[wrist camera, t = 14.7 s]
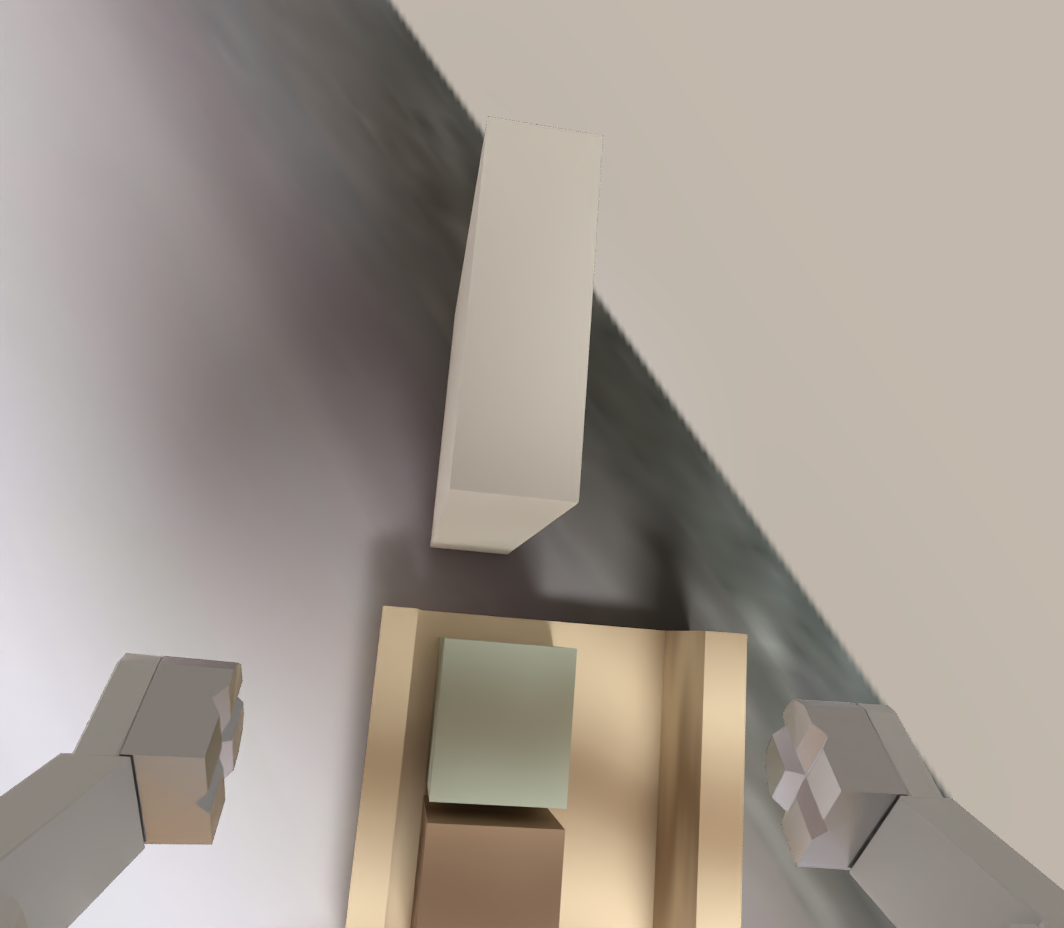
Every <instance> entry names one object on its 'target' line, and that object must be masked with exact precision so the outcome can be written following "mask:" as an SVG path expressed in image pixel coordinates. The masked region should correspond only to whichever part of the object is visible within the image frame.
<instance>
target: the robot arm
mask: <svg viewBox="0 0 1064 928" xmlns="http://www.w3.org/2000/svg"><path fill="white" fill-rule="evenodd" d="M241 684H242V669H241V664H240V663H235V662H224V661H214V660H203V659H192V658H181V657H170V656H155V655H143V654H131V653H126V654H125V655H124V656H123V657H122V658H121V659H120V660H119V661H118V662H117V664H116V666H115V668H114V670H113V672H112V674H111V677H110V679H109V681H108V683H107V685H106V687H105V689H104V691H103V693H102V695H101V697H100V699H99V701H98V703H97V705H96V707H95V709H94V711H93V713H92V715H91V717H90V719H89V721H88V723H87V725H86V727H85V729H84V731H83V733H82V735H81V737H80V739H79V741H78V743H77V745H76V748H75V750H74V752H73V753H60V754H59V755H57V756H56V757H55V758H53V759H52V760H50V761H49V762H48V763H46V764H45V765H43V766H42V767H41V768H39V769H38V770H36V771H35V772H34V773H32V774H31V775H30V776H28V777H27V778H25V779H24V780H23V781H21V782H20V783H18V784H17V785H16V786H14V787H13V788H11V789H10V790H9V791H7V792H6V793H5V794H3V795H2V796H0V928H68V927H69V926H70V925H71V924H72V923H73V922H74V920H75V919H76V918H77V917H78V916H79V915H80V914H81V913H82V912H83V911H84V910H85V909H86V908H87V907H88V906H89V905H90V904H91V903H92V902H93V901H94V900H95V899H96V898H97V897H98V896H99V895H100V894H101V893H102V892H103V891H104V890H105V888H106V887H107V886H108V885H109V884H110V883H111V882H112V881H113V880H114V879H115V878H116V877H117V876H118V875H119V874H120V873H121V872H122V871H123V870H124V869H125V868H126V867H127V866H128V865H129V864H130V863H131V862H132V861H133V860H134V859H135V858H136V856H137V855H138V854H139V853H140V852H141V851H142V850H143V849H144V848H145V846H144V844H210V845H212V842H213V839H214V835H215V832H216V829H217V825H218V822H219V818H220V815H221V812H222V808H223V805H224V801H225V788H224V778H225V777H226V776H228V775H229V774H230V773H231V772H232V771H233V770H234V767H235V763H236V759H237V756H238V752H239V746H240V741H241V735H242V730H243V716H244V711H243V702H242V701H241V700H240V699H239V698H238V694H239V690H240V687H241ZM782 717H783V719H784V722H785V724H786V726H785V727H784V728H782V729H781V730H779V731H778V732H776V733H775V734H773V735H772V737H771V739H770V742H769V744H768V746H767V749H766V757H765V773H766V779H767V784H768V787H769V790H770V793H771V796H772V798H773V799H774V800H775V801H776V802H777V803H778V804H779V805H780V806H781V807H783V808H784V809H785V810H786V813H785V816H784V818H783V821H782V824H781V825H782V828H783V831H784V834H785V836H786V839H787V842H788V845H789V848H790V851H791V853H792V856H793V859H794V862H795V865H796V866H800V867H815V868H830V869H845V870H851V871H850V872H849V873H850V874H851V875H852V877H853V878H854V879H855V880H856V881H857V882H858V884H859V885H860V886H861V887H862V888H863V889H864V891H865V892H866V893H867V894H868V895H869V896H870V898H871V899H872V900H873V901H874V902H875V903H876V904H877V906H878V907H879V908H880V909H881V910H882V911H883V913H884V914H885V915H886V916H887V917H888V918H889V920H890V921H891V922H892V923H893V924H894V925H895V927H896V928H1064V890H1063V889H1061V888H1060V887H1059V886H1058V885H1056V884H1055V883H1054V882H1053V881H1052V880H1050V879H1049V878H1048V877H1047V876H1045V875H1044V874H1043V873H1042V872H1041V871H1039V870H1038V869H1037V868H1036V867H1034V866H1033V865H1032V864H1031V863H1029V862H1028V861H1027V860H1026V859H1025V858H1024V857H1022V856H1021V855H1020V854H1019V853H1017V852H1016V851H1015V850H1014V849H1013V848H1011V847H1010V846H1009V845H1008V844H1007V843H1005V842H1004V841H1003V840H1001V839H1000V838H999V837H998V836H997V835H996V834H994V833H993V832H992V831H991V830H989V829H988V828H987V827H986V826H985V825H983V824H982V823H981V822H980V821H978V820H977V819H976V818H975V817H974V816H972V815H971V814H970V813H969V812H967V811H966V810H965V809H964V808H963V807H961V806H960V805H959V804H958V803H957V802H955V801H954V800H953V799H949V798H943V797H942V796H941V794H940V792H939V790H938V788H937V786H936V785H935V783H934V781H933V779H932V777H931V776H930V774H929V772H928V770H927V768H926V766H925V765H924V763H923V761H922V759H921V757H920V756H919V754H918V752H917V750H916V748H915V746H914V745H913V743H912V741H911V739H910V737H909V736H908V734H907V732H906V730H905V728H904V726H903V725H902V723H901V721H900V719H899V718H898V716H897V714H896V712H895V711H894V710H893V709H892V708H890V707H889V706H888V705H874V704H858V703H857V704H854V703H848V702H830V701H812V700H794V701H792V702H791V703H789V704H788V705H787V707H786V709H785V711H784V713H783V715H782Z"/></svg>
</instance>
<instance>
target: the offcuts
mask: <svg viewBox="0 0 1064 928" xmlns="http://www.w3.org/2000/svg"><path fill="white" fill-rule="evenodd" d="M576 659H577V649H575V648H565V647H556V646H545V645H532V644H520V643H507V642H495V641H482V640H470V639H457V638H445V637H440V640H439V650H438V659H437V669H436V679H435V689H434V699H433V709H432V719H431V728H430V738H429V748H428V758H427V768H426V783H427V789H428V795H424V798H423V807H422V817H421V827H420V837H419V847H418V857H417V867H416V877H415V886H414V896H413V906H412V916H411V926H410V928H559V919H560V903H561V888H562V873H563V857H564V842H565V829H564V828H563V826H562V825H561V824H560V823H559V821H558V820H557V819H556V818H555V817H554V815H553V814H552V813H551V812H550V810H549V809H548V808H559V809H567V796H568V781H569V766H570V750H571V735H572V720H573V704H574V689H575V674H576Z"/></svg>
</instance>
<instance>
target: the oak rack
mask: <svg viewBox="0 0 1064 928" xmlns="http://www.w3.org/2000/svg"><path fill="white" fill-rule="evenodd" d="M440 637H445V638H457V639H470V640H482V641H495V642H507V643H520V644H532V645H545V646H556V647H565V648H575V649H577V659H576V674H575V689H574V704H573V720H572V735H571V750H570V766H569V781H568V796H567V809H559V808H548V809H549V810H550V812H551V813H552V814H553V815H554V817H555V818H556V819H557V820H558V821H559V823H560V824H561V825H562V826H563V828H564V829H565V842H564V857H563V873H562V888H561V903H560V919H559V928H741V898H742V851H743V804H744V757H745V711H746V664H747V634H736V633H724V632H712V631H662V630H650V629H638V628H626V627H614V626H603V625H591V624H579V623H567V622H555V621H543V620H532V619H520V618H508V617H496V616H484V615H473V614H461V613H449V612H437V611H425V610H418V608H406V607H394V606H383V610H382V619H381V627H380V636H379V644H378V653H377V661H376V670H375V679H374V687H373V696H372V704H371V713H370V721H369V730H368V738H367V747H366V755H365V764H364V772H363V781H362V790H361V798H360V807H359V815H358V824H357V832H356V841H355V849H354V858H353V866H352V875H351V884H350V892H349V901H348V909H347V918H346V926H345V928H410V926H411V916H412V906H413V896H414V886H415V877H416V867H417V857H418V847H419V837H420V827H421V817H422V807H423V798H424V795H428V789H427V783H426V768H427V758H428V748H429V738H430V728H431V719H432V709H433V699H434V689H435V679H436V669H437V659H438V650H439V640H440Z"/></svg>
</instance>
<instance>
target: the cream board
mask: <svg viewBox="0 0 1064 928" xmlns="http://www.w3.org/2000/svg"><path fill="white" fill-rule="evenodd" d="M602 147H603V136H602V135H596V134H590V133H584V132H579V131H572V130H567V129H561V128H554V127H549V126H543V125H537V124H531V123H525V122H519V121H513V120H507V119H502V118H496V117H489V116H488V117H487V124H486V129H485V135H484V141H483V147H482V153H481V159H480V165H479V172H478V178H477V184H476V190H475V196H474V202H473V208H472V214H471V220H470V226H469V232H468V238H467V244H466V250H465V256H464V262H463V269H462V275H461V281H460V287H459V293H458V299H457V305H456V311H455V318H454V328H453V337H452V347H451V356H450V366H449V375H448V385H447V394H446V404H445V413H444V423H443V432H442V442H441V451H440V460H439V470H438V479H437V489H436V498H435V508H434V517H433V527H432V536H431V546H430V547H434V548H444V549H455V550H465V551H476V552H486V553H497V554H509V553H510V552H511V551H513V550H514V549H516V548H517V547H518V546H520V545H521V544H522V543H524V542H525V541H527V540H528V539H529V538H531V537H532V536H533V535H535V534H536V533H538V532H539V531H540V530H542V529H543V528H544V527H546V526H547V525H549V524H550V523H551V522H553V521H554V520H555V519H557V518H558V517H560V516H561V515H562V514H564V513H565V512H566V511H568V510H569V509H571V508H572V507H573V506H575V505H576V504H577V503H579V491H580V476H581V461H582V446H583V431H584V416H585V401H586V386H587V371H588V356H589V341H590V326H591V312H592V297H593V282H594V267H595V252H596V236H597V222H598V206H599V192H600V177H601V162H602Z"/></svg>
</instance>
